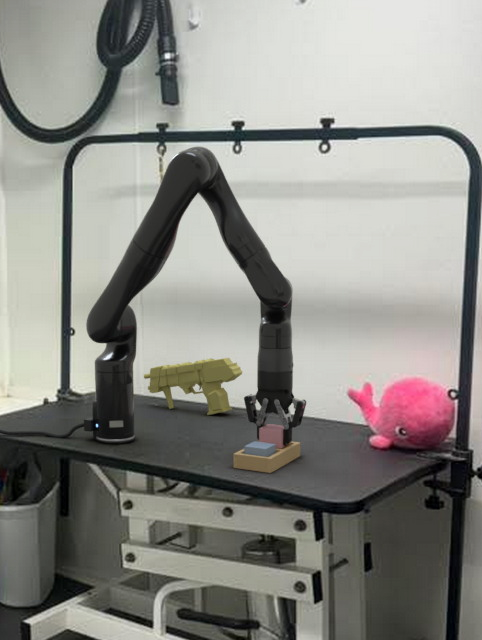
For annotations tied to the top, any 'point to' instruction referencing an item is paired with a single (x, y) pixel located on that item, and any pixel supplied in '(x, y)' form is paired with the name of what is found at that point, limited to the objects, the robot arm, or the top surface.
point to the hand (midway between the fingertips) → (274, 443)
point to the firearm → (196, 380)
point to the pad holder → (267, 459)
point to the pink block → (272, 435)
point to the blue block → (260, 449)
